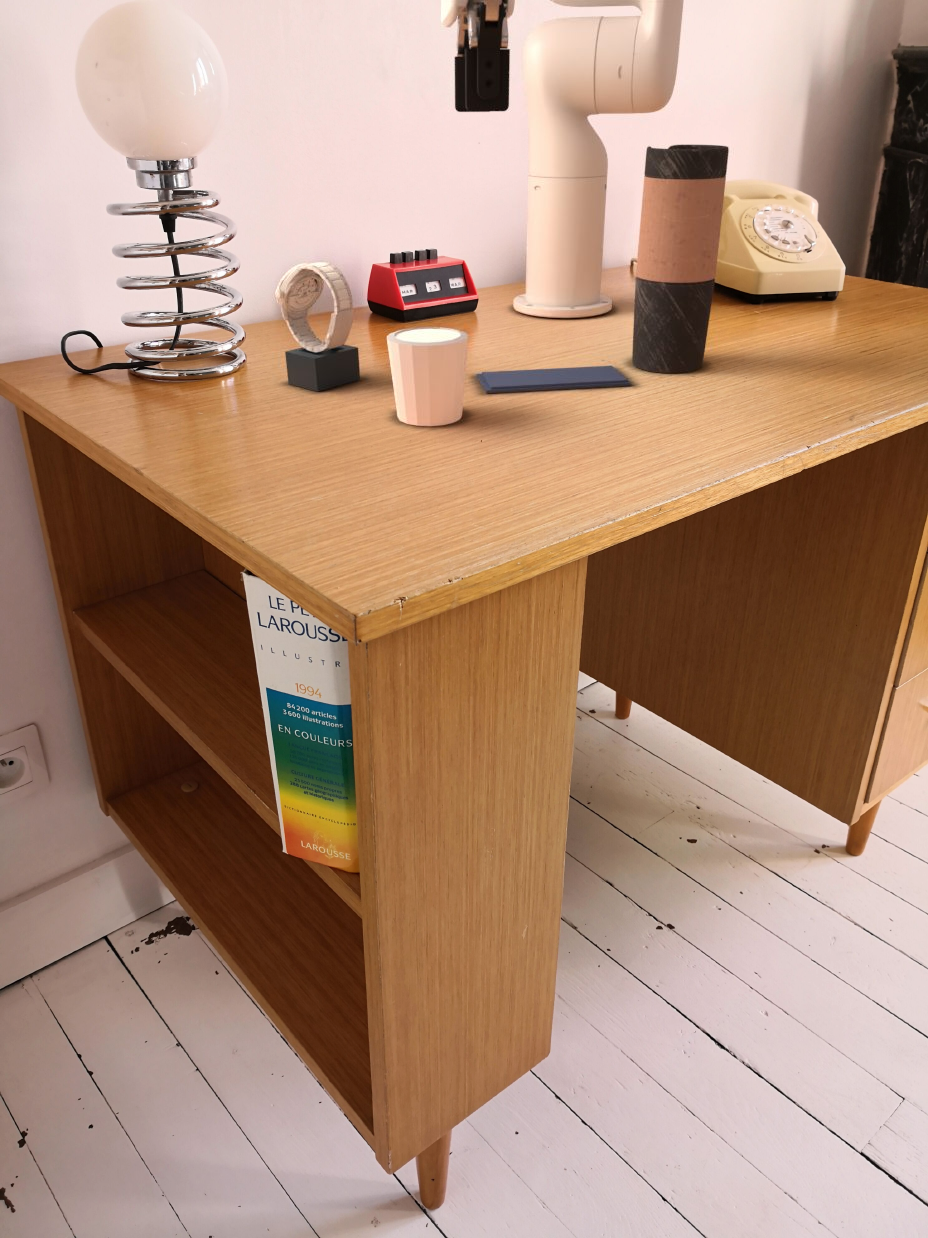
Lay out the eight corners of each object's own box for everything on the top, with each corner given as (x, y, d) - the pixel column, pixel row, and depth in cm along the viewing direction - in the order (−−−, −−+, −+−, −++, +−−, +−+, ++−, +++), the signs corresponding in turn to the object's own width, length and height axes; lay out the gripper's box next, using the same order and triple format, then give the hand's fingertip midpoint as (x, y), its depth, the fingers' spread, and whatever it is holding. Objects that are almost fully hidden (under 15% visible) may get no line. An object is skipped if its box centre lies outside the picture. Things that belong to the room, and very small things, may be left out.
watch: (318, 368, 97) (308, 255, 92) (372, 382, 92) (365, 263, 87) (274, 380, 93) (262, 262, 88) (329, 395, 89) (319, 271, 83)
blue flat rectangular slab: (476, 376, 94) (476, 371, 94) (613, 369, 96) (613, 364, 95) (486, 393, 89) (486, 387, 88) (630, 385, 90) (631, 380, 90)
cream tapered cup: (430, 433, 78) (428, 348, 75) (374, 417, 83) (369, 335, 79) (485, 414, 83) (485, 333, 79) (429, 399, 87) (427, 321, 84)
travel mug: (705, 375, 93) (732, 148, 83) (627, 372, 95) (644, 148, 85) (704, 356, 100) (728, 144, 90) (631, 353, 101) (647, 144, 91)
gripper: (422, -135, 75) (427, 111, 83) (436, -199, 59) (440, 111, 67) (516, -134, 75) (512, 111, 83) (554, -197, 60) (545, 110, 68)
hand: (480, 111), depth 75 cm, fingers open, 9 cm apart
